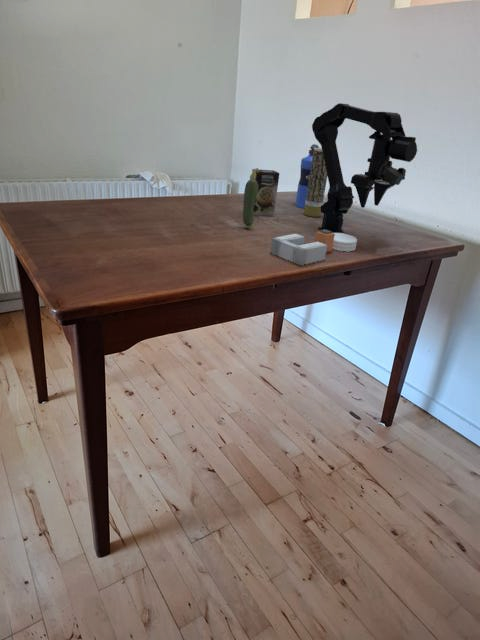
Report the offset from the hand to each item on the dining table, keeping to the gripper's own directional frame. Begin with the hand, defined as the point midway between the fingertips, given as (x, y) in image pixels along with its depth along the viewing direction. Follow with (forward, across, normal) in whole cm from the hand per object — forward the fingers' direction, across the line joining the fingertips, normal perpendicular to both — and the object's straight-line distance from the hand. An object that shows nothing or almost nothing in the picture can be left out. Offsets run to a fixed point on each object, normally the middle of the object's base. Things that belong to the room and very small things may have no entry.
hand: (369, 206), depth 148 cm
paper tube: (+12, +12, +32) cm, 36 cm away
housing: (+12, -33, 0) cm, 35 cm away
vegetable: (+12, -26, +29) cm, 41 cm away
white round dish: (+12, -12, 0) cm, 17 cm away
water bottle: (+12, +22, +44) cm, 51 cm away
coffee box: (+12, -7, +42) cm, 44 cm away
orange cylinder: (+12, -21, 0) cm, 24 cm away
